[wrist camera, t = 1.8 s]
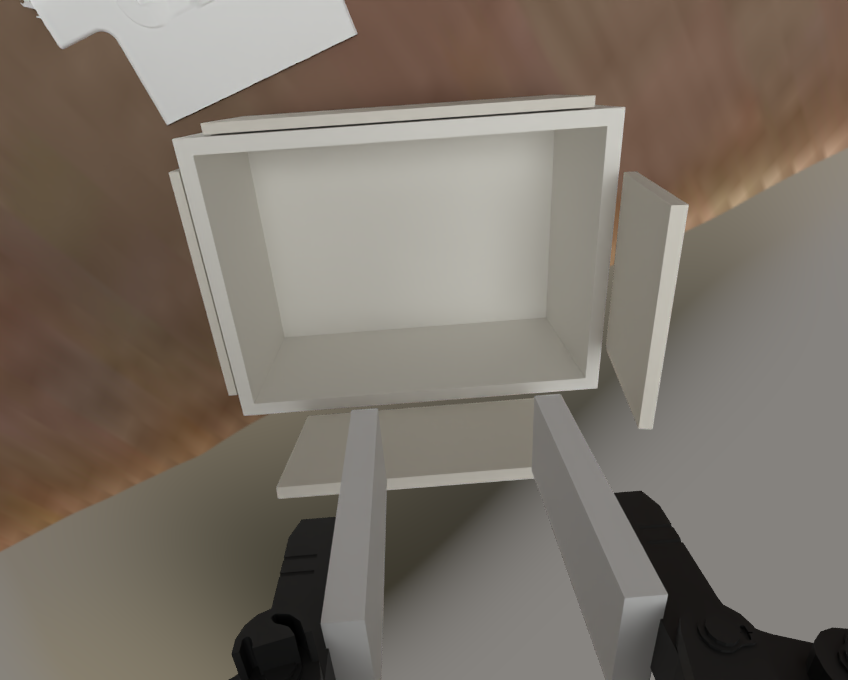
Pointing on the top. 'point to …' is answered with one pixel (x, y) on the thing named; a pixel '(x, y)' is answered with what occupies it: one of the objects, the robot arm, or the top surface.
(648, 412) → the end flap
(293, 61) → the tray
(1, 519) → the top surface
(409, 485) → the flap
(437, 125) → the carton
